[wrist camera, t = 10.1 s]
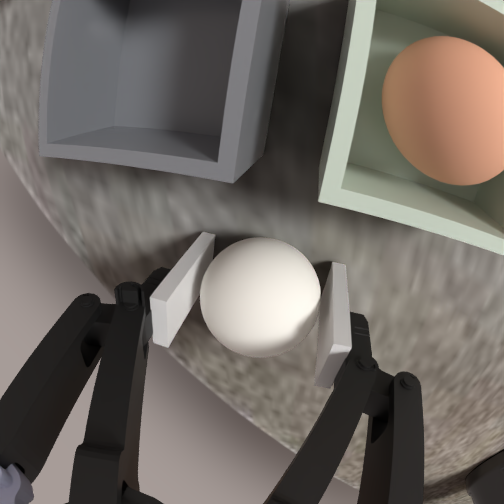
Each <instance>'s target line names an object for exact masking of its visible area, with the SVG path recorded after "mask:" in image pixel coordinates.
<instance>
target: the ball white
mask: <svg viewBox="0 0 504 504" xmlns="http://www.w3.org/2000/svg"><path fill="white" fill-rule="evenodd" d="M320 304H321V291H320V284H319V280H318V277H317V275H316V272H315V270H314V268H313V267H312V265H311V264H310V262H309V261H308V260H307V258H306V257H305V256H304V255H303V254H302V253H301V252H300V251H298V250H297V249H296V248H295V247H293V246H291V245H289V244H288V243H285V242H283V241H280V240H277V239H273V238H267V237H255V238H248V239H244V240H241V241H238V242H236V243H234V244H232V245H230V246H228V247H227V248H226V249H224V250H223V251H221V252H220V253H219V254H218V255H217V256H216V257H215V258H214V260H213V261H212V262H211V264H210V265H209V267H208V269H207V271H206V273H205V275H204V277H203V280H202V284H201V290H200V305H201V311H202V315H203V318H204V320H205V322H206V324H207V327H208V328H209V330H210V331H211V333H212V334H213V335H214V337H215V338H216V339H217V340H218V341H219V342H220V343H221V344H223V345H224V346H225V347H227V348H228V349H230V350H232V351H234V352H236V353H239V354H241V355H245V356H249V357H256V358H264V357H271V356H276V355H279V354H282V353H285V352H287V351H289V350H291V349H292V348H294V347H295V346H297V345H298V344H299V343H300V342H301V341H303V340H304V339H305V337H306V336H307V335H308V334H309V332H310V331H311V329H312V328H313V326H314V324H315V322H316V320H317V317H318V314H319V310H320Z"/></svg>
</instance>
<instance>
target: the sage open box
mask: <svg viewBox="0 0 504 504" xmlns="http://www.w3.org/2000/svg"><path fill="white" fill-rule="evenodd" d="M433 36H449V37H456V38H460V39H463V40H466V41H469V42H471V43H473V44H475V45H477V46H479V47H481V48H482V49H484V50H485V51H486V52H488V53H489V54H490V55H492V56H493V57H494V58H495V59H496V60H497V61H498V62H499V63H500V64H501V65H502V66H503V68H504V2H503V1H502V0H349V2H348V9H347V16H346V23H345V29H344V36H343V42H342V48H341V54H340V60H339V66H338V71H337V77H336V82H335V88H334V93H333V99H332V104H331V109H330V114H329V119H328V124H327V129H326V134H325V139H324V144H323V149H322V154H321V158H320V163H319V190H318V202H321V203H326V204H330V205H334V206H338V207H342V208H346V209H350V210H354V211H358V212H362V213H366V214H369V215H373V216H377V217H381V218H384V219H388V220H392V221H395V222H399V223H402V224H406V225H409V226H413V227H416V228H420V229H423V230H427V231H430V232H433V233H437V234H440V235H443V236H446V237H450V238H453V239H456V240H459V241H462V242H465V243H468V244H471V245H475V246H478V247H481V248H484V249H486V250H489V251H492V252H495V253H498V254H501V255H504V170H503V171H502V172H501V173H499V174H498V175H497V176H495V177H493V178H491V179H489V180H488V181H485V182H482V183H479V184H474V185H461V186H460V185H452V184H447V183H444V182H440V181H438V180H435V179H433V178H431V177H429V176H427V175H426V174H424V173H422V172H421V171H419V170H418V169H417V168H415V167H414V166H413V165H412V164H411V163H410V162H409V161H408V160H407V159H406V158H405V157H404V156H403V155H402V153H401V152H400V151H399V150H398V148H397V147H396V145H395V143H394V142H393V140H392V138H391V136H390V134H389V132H388V129H387V126H386V123H385V120H384V116H383V110H382V88H383V83H384V79H385V76H386V73H387V71H388V68H389V67H390V65H391V63H392V62H393V60H394V59H395V58H396V56H397V55H398V54H399V53H400V52H401V51H403V50H404V49H405V48H406V47H407V46H409V45H410V44H412V43H414V42H416V41H419V40H421V39H424V38H428V37H433Z"/></svg>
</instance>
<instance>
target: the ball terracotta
mask: <svg viewBox="0 0 504 504" xmlns="http://www.w3.org/2000/svg"><path fill="white" fill-rule="evenodd" d="M382 110H383V116H384V120H385V123H386V126H387V129H388V132H389V134H390V136H391V138H392V140H393V142H394V143H395V145H396V147H397V148H398V150H399V151H400V152H401V153H402V155H403V156H404V157H405V158H406V159H407V160H408V161H409V162H410V163H411V164H412V165H413V166H414V167H415V168H417V169H418V170H419V171H421V172H422V173H424V174H426V175H427V176H429V177H431V178H433V179H435V180H438V181H440V182H444V183H447V184H452V185H460V186H461V185H474V184H479V183H482V182H485V181H488V180H489V179H491V178H493V177H495V176H497V175H498V174H499V173H501V172H502V171H503V170H504V68H503V66H502V65H501V64H500V63H499V62H498V61H497V60H496V59H495V58H494V57H493V56H492V55H490V54H489V53H488V52H486V51H485V50H484V49H482V48H481V47H479V46H477V45H475V44H473V43H471V42H469V41H466V40H463V39H460V38H456V37H449V36H433V37H428V38H424V39H421V40H419V41H416V42H414V43H412V44H410V45H409V46H407V47H406V48H405V49H404V50H403V51H401V52H400V53H399V54H398V55H397V56H396V58H395V59H394V60H393V62H392V63H391V65H390V67H389V68H388V71H387V73H386V76H385V79H384V83H383V88H382Z"/></svg>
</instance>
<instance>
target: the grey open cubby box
mask: <svg viewBox="0 0 504 504" xmlns="http://www.w3.org/2000/svg"><path fill="white" fill-rule="evenodd" d="M289 3H290V0H52V4H51V9H50V14H49V19H48V24H47V30H46V37H45V43H44V51H43V59H42V68H41V80H40V95H39V156H45V157H56V158H66V159H75V160H84V161H93V162H101V163H109V164H117V165H124V166H131V167H138V168H145V169H152V170H158V171H165V172H171V173H177V174H183V175H189V176H195V177H201V178H206V179H212V180H217V181H223V182H228V183H234V182H235V181H236V180H237V179H238V178H239V177H240V176H241V175H242V174H243V173H244V172H246V171H247V170H248V169H249V168H250V167H251V166H252V165H253V164H254V163H255V162H256V161H257V160H258V159H259V158H260V157H261V156H262V155H263V154H264V152H265V146H266V140H267V134H268V128H269V122H270V116H271V110H272V104H273V98H274V92H275V86H276V80H277V74H278V68H279V62H280V56H281V50H282V44H283V38H284V32H285V26H286V20H287V14H288V9H289Z"/></svg>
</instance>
